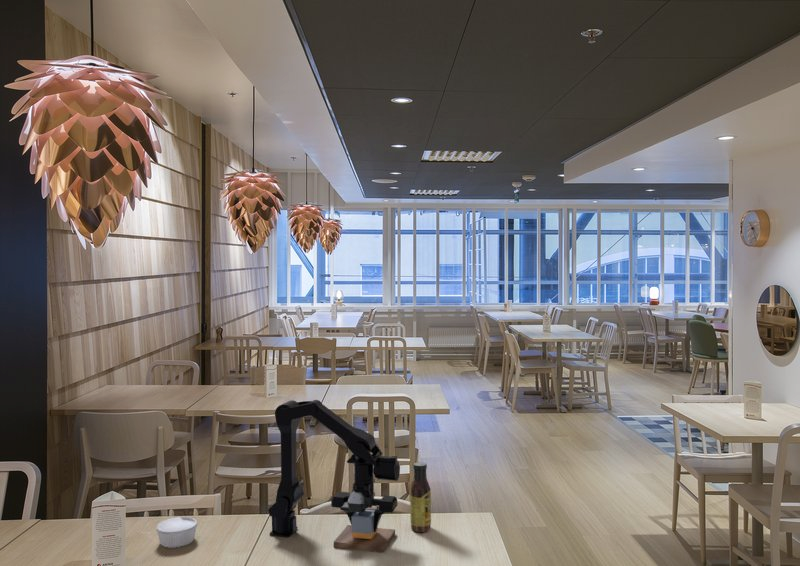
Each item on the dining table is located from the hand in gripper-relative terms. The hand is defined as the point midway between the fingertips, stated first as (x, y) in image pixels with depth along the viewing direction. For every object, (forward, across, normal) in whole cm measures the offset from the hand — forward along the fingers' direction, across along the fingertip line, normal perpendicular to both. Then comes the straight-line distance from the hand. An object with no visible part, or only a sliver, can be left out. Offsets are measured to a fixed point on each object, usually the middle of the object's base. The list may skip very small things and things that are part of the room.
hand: (364, 530), depth 185 cm
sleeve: (+1, 0, 0) cm, 1 cm away
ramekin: (+3, -54, -13) cm, 56 cm away
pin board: (+3, 0, 0) cm, 3 cm away
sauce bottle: (+3, +14, +12) cm, 19 cm away
